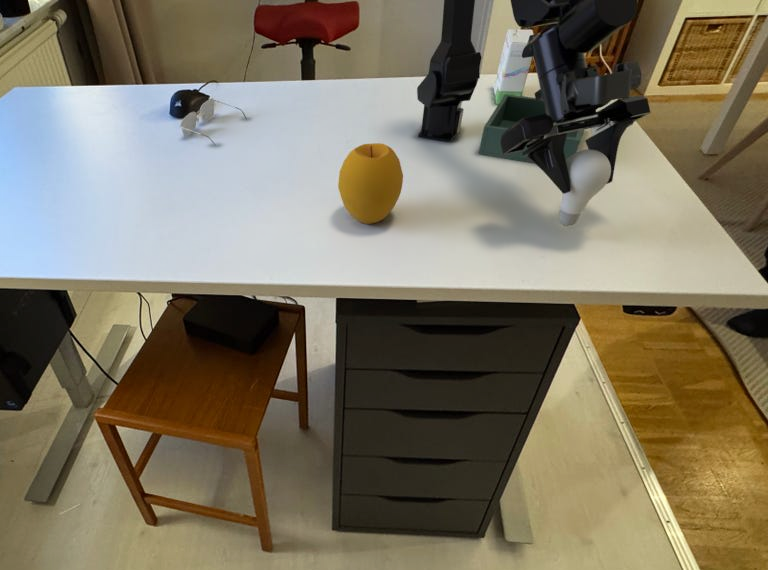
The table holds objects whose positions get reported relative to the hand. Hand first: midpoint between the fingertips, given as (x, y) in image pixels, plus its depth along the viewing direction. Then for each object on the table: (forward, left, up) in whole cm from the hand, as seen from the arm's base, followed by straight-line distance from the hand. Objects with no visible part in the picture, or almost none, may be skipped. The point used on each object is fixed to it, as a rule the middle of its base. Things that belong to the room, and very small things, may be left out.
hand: (587, 187), depth 72 cm
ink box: (-20, +50, -9) cm, 54 cm away
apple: (-29, -5, -9) cm, 31 cm away
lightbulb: (-1, +1, -7) cm, 7 cm away
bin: (-11, +30, -8) cm, 33 cm away
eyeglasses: (-71, +14, -9) cm, 73 cm away
